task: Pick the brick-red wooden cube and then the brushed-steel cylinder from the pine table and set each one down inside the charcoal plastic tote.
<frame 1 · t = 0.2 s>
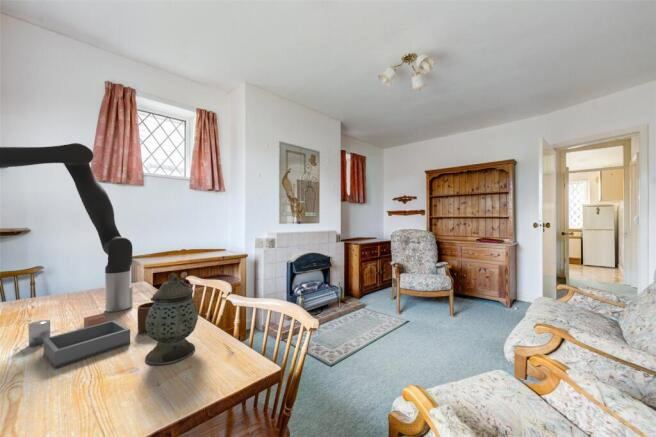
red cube: (94, 330, 101), on the table
mug: (153, 331, 100), on the table
tote: (88, 349, 87), on the table
steel cylinder: (39, 343, 91), on the table
lantern: (172, 353, 84), on the table
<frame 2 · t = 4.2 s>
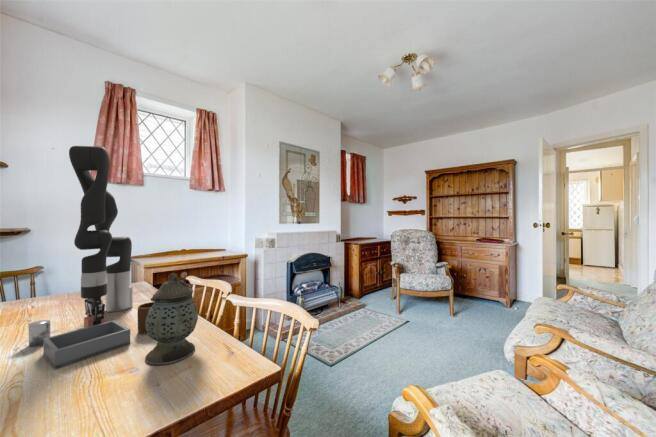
hand: (94, 328, 101), 1 cm above the table, tool pointing down, fingers closed on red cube, 5 cm apart
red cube: (94, 330, 101), on the table, touching gripper
everything else where it was.
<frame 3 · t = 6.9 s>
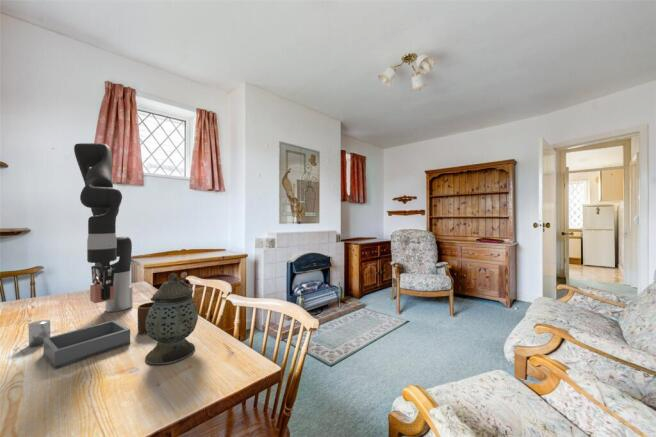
hand: (102, 297, 89), 16 cm above the table, tool pointing down, fingers closed on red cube, 5 cm apart
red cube: (102, 300, 89), point 15 cm above the table, touching gripper
everything else where it was.
when the fingers open (3 cm above the table, at t = 9.7 s): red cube drops 1 cm, resting on tote.
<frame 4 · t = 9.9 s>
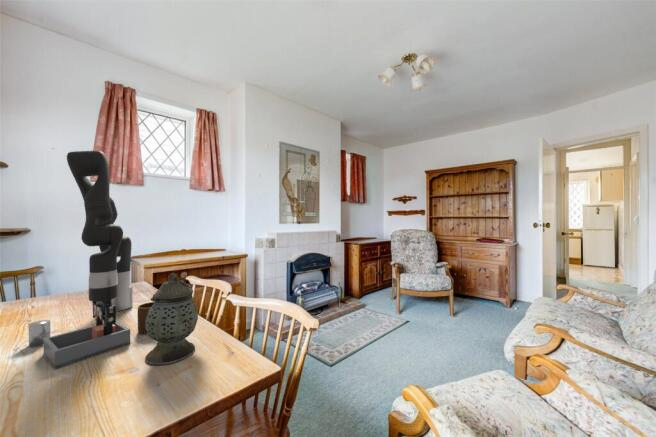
hand: (104, 333, 90), 4 cm above the table, tool pointing down, fingers open, 6 cm apart
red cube: (104, 341, 90), point 1 cm above the table, touching tote
everything else where it was.
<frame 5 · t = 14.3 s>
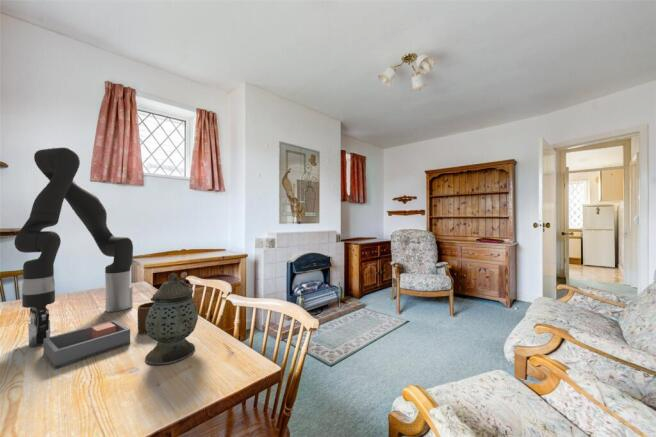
hand: (39, 340, 91), 1 cm above the table, tool pointing down, fingers closed on steel cylinder, 5 cm apart
steel cylinder: (39, 343, 91), on the table, touching gripper
everything else where it was.
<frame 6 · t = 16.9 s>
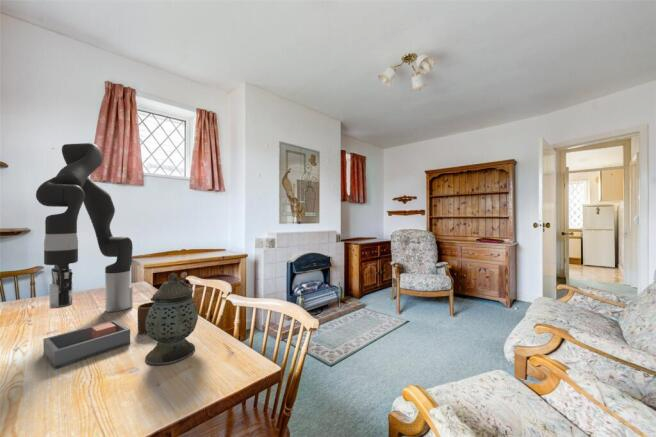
hand: (61, 302, 84), 16 cm above the table, tool pointing down, fingers closed on steel cylinder, 5 cm apart
steel cylinder: (61, 305, 84), point 15 cm above the table, touching gripper
everything else where it was.
when the fingers open (4 cm above the table, at t = 19.9 s): steel cylinder drops 2 cm, resting on tote.
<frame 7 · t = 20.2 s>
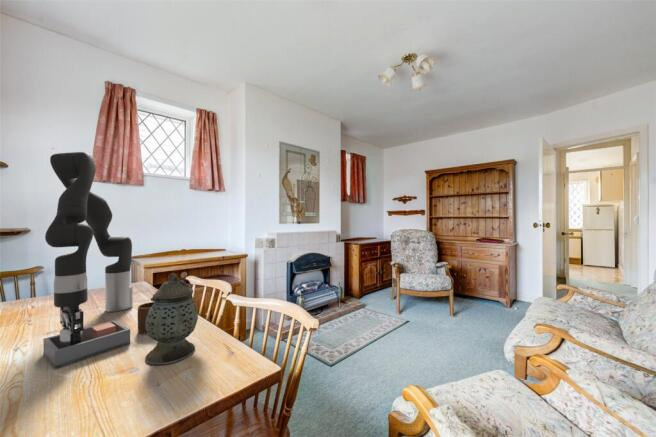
hand: (71, 341, 83), 4 cm above the table, tool pointing down, fingers open, 7 cm apart
steel cylinder: (71, 351, 83), point 1 cm above the table, touching tote
everything else where it was.
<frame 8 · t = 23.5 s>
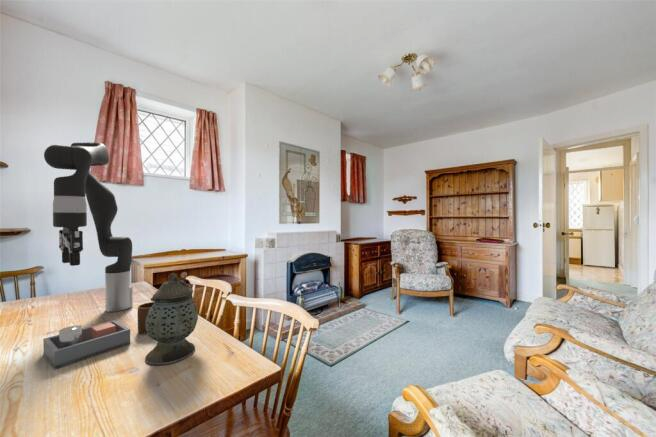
hand: (70, 264, 83), 28 cm above the table, tool pointing down, fingers open, 8 cm apart
nothing on the table moved.
at the end: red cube inside the target area on the tote (4.0 cm from its centre), point 1.0 cm above the tote's base; steel cylinder inside the target area on the tote (4.0 cm from its centre), point 1.1 cm above the tote's base; steel cylinder tilted 2° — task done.
